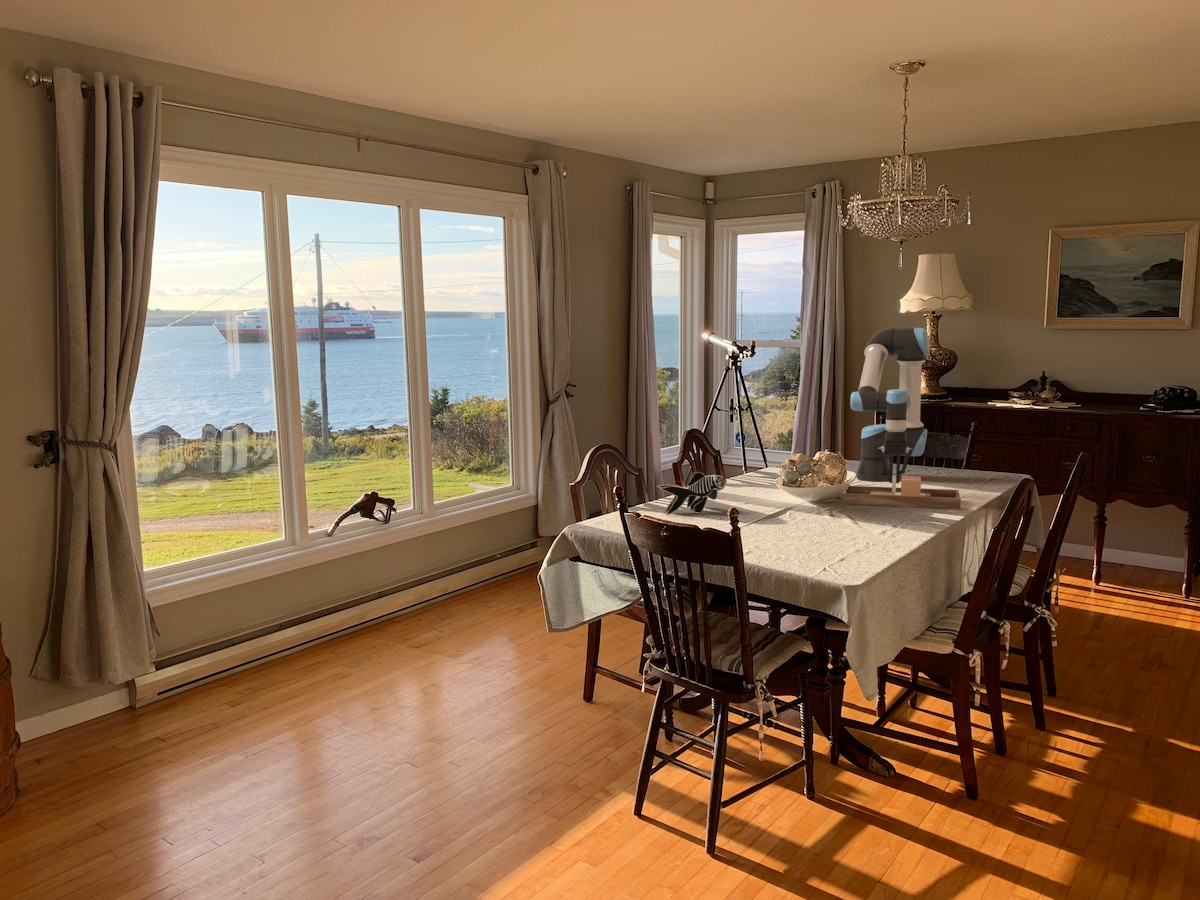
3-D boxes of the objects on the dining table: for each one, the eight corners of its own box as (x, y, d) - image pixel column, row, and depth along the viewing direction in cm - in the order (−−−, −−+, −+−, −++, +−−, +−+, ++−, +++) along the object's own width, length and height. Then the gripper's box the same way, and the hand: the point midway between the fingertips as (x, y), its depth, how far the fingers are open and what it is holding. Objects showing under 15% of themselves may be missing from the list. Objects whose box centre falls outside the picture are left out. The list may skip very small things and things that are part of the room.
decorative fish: (738, 505, 332) (730, 467, 329) (671, 525, 327) (662, 486, 324) (724, 497, 347) (716, 460, 344) (659, 516, 342) (651, 478, 339)
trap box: (844, 495, 359) (845, 485, 358) (958, 500, 345) (958, 489, 344) (842, 504, 344) (842, 493, 343) (960, 509, 330) (960, 498, 330)
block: (900, 493, 347) (901, 476, 346) (920, 494, 345) (920, 476, 344) (900, 497, 340) (901, 479, 339) (920, 498, 338) (920, 480, 337)
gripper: (877, 431, 339) (875, 492, 343) (914, 432, 335) (911, 494, 339) (878, 428, 346) (876, 488, 350) (913, 429, 342) (911, 490, 346)
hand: (893, 491), depth 344 cm, fingers closed
